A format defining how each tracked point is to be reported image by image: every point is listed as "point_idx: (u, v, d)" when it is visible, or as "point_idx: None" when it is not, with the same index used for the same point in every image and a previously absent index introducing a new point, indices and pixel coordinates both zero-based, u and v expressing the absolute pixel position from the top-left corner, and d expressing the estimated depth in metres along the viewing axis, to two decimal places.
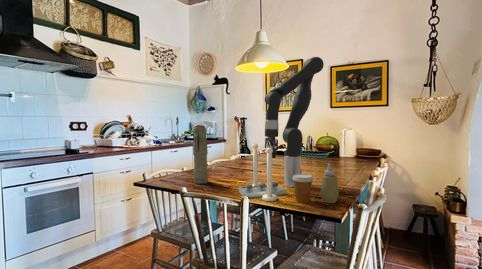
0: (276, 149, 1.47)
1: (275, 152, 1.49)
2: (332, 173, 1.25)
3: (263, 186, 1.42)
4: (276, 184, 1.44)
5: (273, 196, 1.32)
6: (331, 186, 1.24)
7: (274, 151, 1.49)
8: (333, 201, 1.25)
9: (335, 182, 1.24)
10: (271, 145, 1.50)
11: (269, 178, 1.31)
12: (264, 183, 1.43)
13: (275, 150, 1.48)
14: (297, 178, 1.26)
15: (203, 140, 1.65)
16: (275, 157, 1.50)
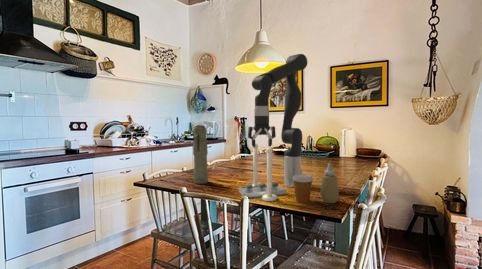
0: None
1: None
2: (332, 173, 1.25)
3: (263, 186, 1.42)
4: (276, 184, 1.44)
5: (273, 196, 1.32)
6: (331, 186, 1.24)
7: (271, 139, 1.43)
8: (333, 201, 1.25)
9: (335, 182, 1.24)
10: (269, 133, 1.42)
11: (269, 178, 1.31)
12: (264, 183, 1.43)
13: (273, 137, 1.44)
14: (297, 178, 1.26)
15: (203, 140, 1.65)
16: None
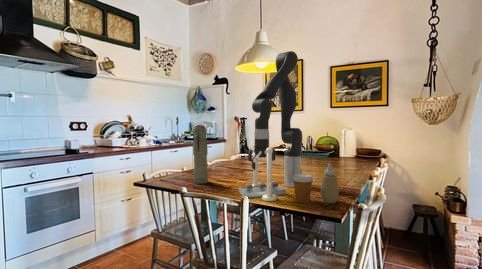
0: None
1: None
2: (332, 173, 1.25)
3: (263, 186, 1.42)
4: (276, 184, 1.44)
5: (273, 196, 1.32)
6: (331, 186, 1.24)
7: None
8: (333, 201, 1.25)
9: (335, 182, 1.24)
10: None
11: (269, 178, 1.31)
12: (264, 183, 1.43)
13: (273, 159, 1.44)
14: (297, 178, 1.26)
15: (203, 140, 1.65)
16: None
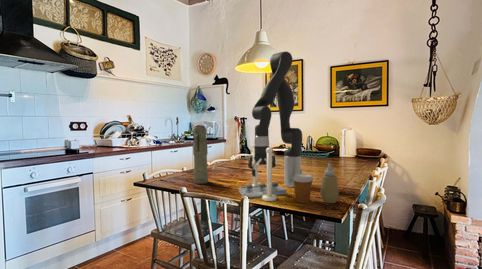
0: None
1: None
2: (332, 173, 1.25)
3: (263, 186, 1.42)
4: (276, 184, 1.44)
5: (273, 196, 1.32)
6: (331, 186, 1.24)
7: None
8: (333, 201, 1.25)
9: (335, 182, 1.24)
10: None
11: (269, 178, 1.31)
12: (264, 183, 1.43)
13: (273, 166, 1.44)
14: (297, 178, 1.26)
15: (203, 140, 1.65)
16: None
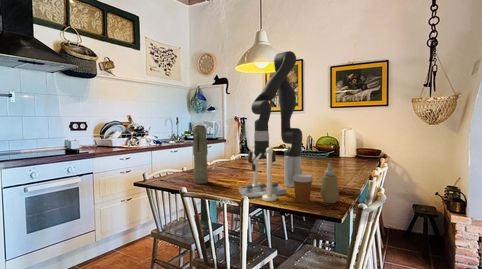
0: None
1: None
2: (332, 173, 1.25)
3: (263, 186, 1.42)
4: (276, 184, 1.44)
5: (273, 196, 1.32)
6: (331, 186, 1.24)
7: None
8: (333, 201, 1.25)
9: (335, 182, 1.24)
10: None
11: (269, 178, 1.31)
12: (264, 183, 1.43)
13: None
14: (297, 178, 1.26)
15: (203, 140, 1.65)
16: None
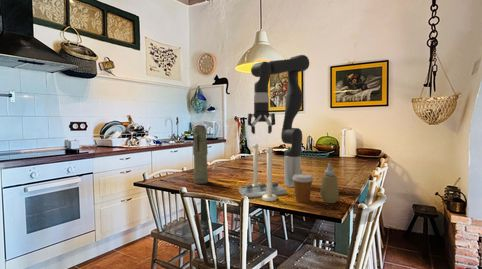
0: None
1: None
2: (332, 173, 1.25)
3: (263, 186, 1.42)
4: (276, 184, 1.44)
5: (273, 196, 1.32)
6: (331, 186, 1.24)
7: None
8: (333, 201, 1.25)
9: (335, 182, 1.24)
10: (268, 120, 1.41)
11: (269, 178, 1.31)
12: (264, 183, 1.43)
13: (273, 124, 1.43)
14: (297, 178, 1.26)
15: (203, 140, 1.65)
16: (269, 132, 1.44)
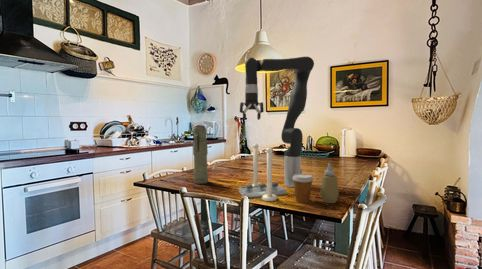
0: None
1: None
2: (332, 173, 1.25)
3: (263, 186, 1.42)
4: (276, 184, 1.44)
5: (273, 196, 1.32)
6: (331, 186, 1.24)
7: None
8: (333, 201, 1.25)
9: (335, 182, 1.24)
10: None
11: (269, 178, 1.31)
12: (264, 183, 1.43)
13: None
14: (297, 178, 1.26)
15: (203, 140, 1.65)
16: None
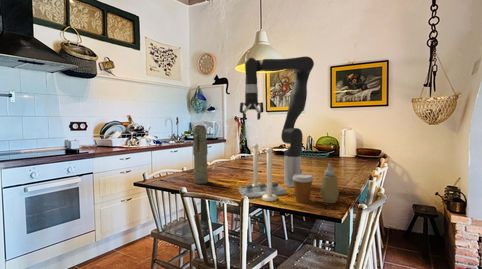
0: (262, 111, 1.67)
1: (259, 114, 1.67)
2: (332, 173, 1.25)
3: (263, 186, 1.42)
4: (276, 184, 1.44)
5: (273, 196, 1.32)
6: (331, 186, 1.24)
7: None
8: (333, 201, 1.25)
9: (335, 182, 1.24)
10: (257, 108, 1.64)
11: (269, 178, 1.31)
12: (264, 183, 1.43)
13: None
14: (297, 178, 1.26)
15: (203, 140, 1.65)
16: None
